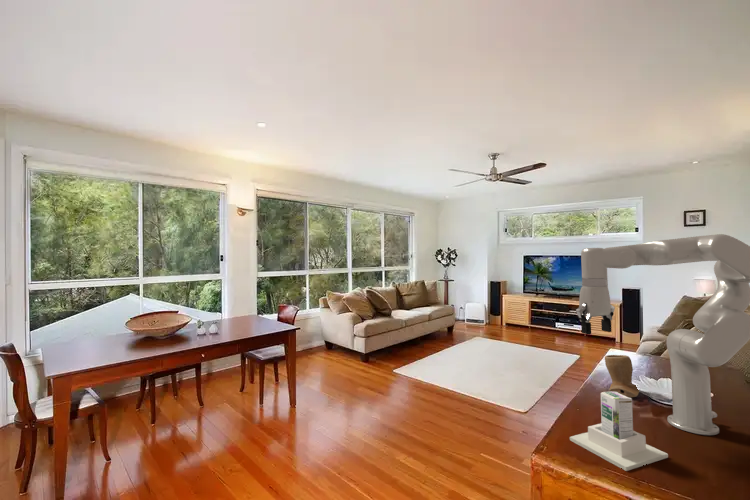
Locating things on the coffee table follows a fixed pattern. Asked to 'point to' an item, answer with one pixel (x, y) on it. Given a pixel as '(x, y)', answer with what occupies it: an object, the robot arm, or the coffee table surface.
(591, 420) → the coffee table surface
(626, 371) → the tan boot
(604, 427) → the syrup box
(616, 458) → the dock socket
